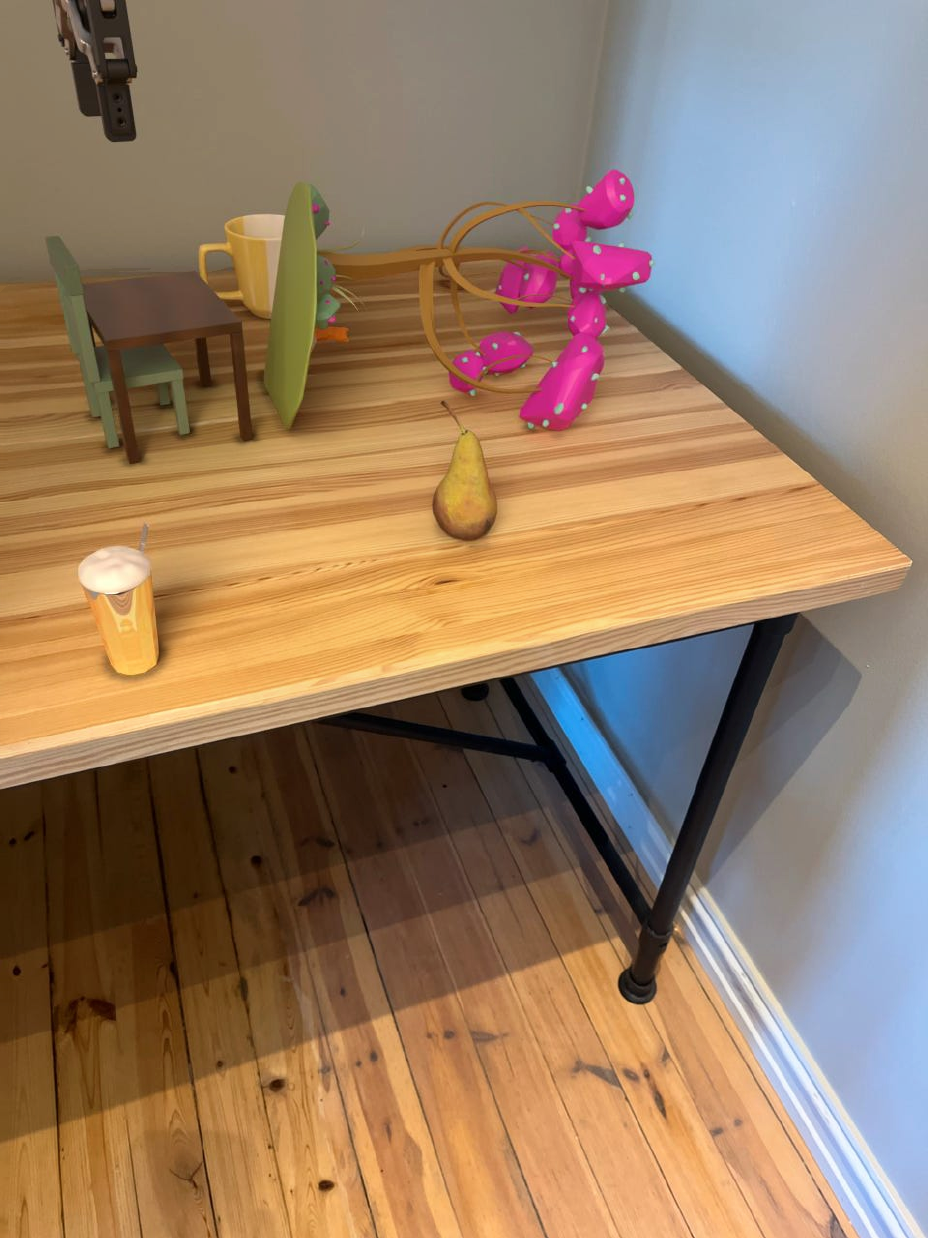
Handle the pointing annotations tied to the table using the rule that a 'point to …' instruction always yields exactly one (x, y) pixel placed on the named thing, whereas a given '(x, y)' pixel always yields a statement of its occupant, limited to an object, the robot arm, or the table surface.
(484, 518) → the fruit
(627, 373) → the table surface
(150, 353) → the chair
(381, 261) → the green and pink pieces
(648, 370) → the table surface
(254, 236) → the mug
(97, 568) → the milkshake
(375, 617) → the table surface
